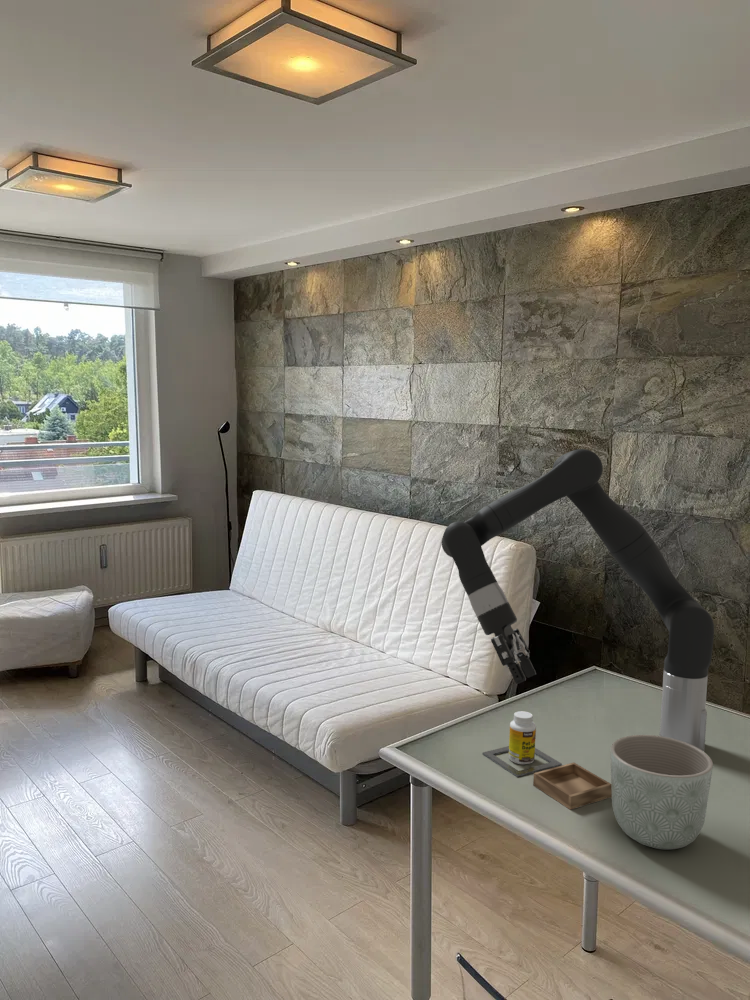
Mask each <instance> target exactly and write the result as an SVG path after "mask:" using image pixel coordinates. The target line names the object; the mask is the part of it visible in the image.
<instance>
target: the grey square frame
mask: <svg viewBox="0 0 750 1000" xmlns="http://www.w3.org/2000/svg"><path fill="white" fill-rule="evenodd" d="M504 753H509V745H508V746H504V747H500V748H495V749H490V750H487V751H483V752H482V755H483V756H484V757H486V758H488V759H489V760H490V761H492V762H493V763H495V764H497V765H498V766H499V767H501V768H502V769H504V770H506V771H507V772H508V773H511V774H512V775H513V776H515V777H516V778H519V777H520V778H521V777H524V776H527V775H530V774H534V773H536V772H540V771H544V770H547V769H551V768H555V767H558V766H562V765H563V764H562V763H561V762H560V761H558V760H557V759H555V758H553V757H551V756H550V755H548V754H546V753H545V752H544V751H541V750H539V748H536V747H535V755H536V756H538V757H539V758H541V759H543V760H544V761H546V763H543V764H540V765H537V766H532V767H531V766H530V767H529V768H524V769H519V770H518V769H517V768H514V767H513V766H512V765H510V764H508V763H507V762H505V761H504V760H502V759H501V758H499V756H496V755H499V754H504Z"/></svg>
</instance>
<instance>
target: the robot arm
mask: <svg viewBox="0 0 750 1000" xmlns="http://www.w3.org/2000/svg"><path fill="white" fill-rule="evenodd" d="M603 466H604V465H603V462H602V459H601V458H600V456H599V455H598V454H597V453H595V452H594V451H593V450H589V449H585V448H579V449H574V450H570V451H568V452H566V453H565V454H561V455H560V456H559V457H558V458H556V460H555V461H554V462H553V465H552V468H551V470H549V471H548V472H546V473H544V474H543V475H541V476H539V477H538V478H536V479H535V480H533V481H531V482H529V483H527V484H525V485H523V486H521V487H519V488H516V489H514V490H512V491H510V492H507V493H506V494H504V495H502V496H501V497H499V498H497V499H495V500H493V501H492V502H490V503H488V504H486V505H485V506H483V507H482V508H481V509H479V510H478V511H477V512H476V513H475V514H474V515H473V516H472V517H469V518H468V519H467V520H465V521H454V522H451V523H450V524H449V525H447V527H446V528H445V530H444V531H443V535H442V538H441V548H442V550H443V552H444V553H445V555H447V556H448V557H450V558H452V559H453V562H454V564H455V567H456V568H457V569H458V570H457V571H458V577H459V581H460V582H461V585H462V587H463V588H464V591H465V593H466V596H467V597H468V600H469V603H470V605H471V607H472V610H473V612H474V614H475V617H476V618H477V620H478V623H479V625H480V626H481V629H482V631H483V633H484V634H485V636H490V635H492V634H494V637H492V638H490V641H491V642H490V643H492V646H493V647H494V650H495V653H496V654H497V657H498V658H499V660H500V663H501V665H502V666H503V667H504V666H505V667H506V668H508V669H509V672H510V673H511V676H512V679H513V680H514V682H515V684H517V685H518V684H519V685H520V684H522V683H524V682H525V681H526V680H527V678H529V679H530V678H531V677H533V676H535V675H537V672H536V669H535V668H534V666H533V663H532V661H531V658H530V654H531V652H530V649H529V647H528V646H527V643H526V642H525V639H524V638H523V635H522V634H521V632H520V629H518V628H515V629H513V627H512V625H513V624H515V623H517V621H518V618H517V616H516V614H515V612H514V610H513V607H512V606H511V604H510V602H509V600H508V598H507V596H506V594H505V592H504V591H503V589H502V587H501V585H499V583H498V581H497V579H496V576H495V574H494V573H493V571H492V569H491V567H490V565H489V564H488V561H487V559H486V557H485V553H484V551H483V548H482V546H484V545H485V544H486V543H488V542H489V541H490V540H492V539H493V538H496V537H498V536H499V535H502V534H503V533H505V532H506V531H507V532H508V530H511V528H513V527H516V526H517V525H518V524H520V523H522V522H523V521H525V520H526V519H528V518H529V517H531V516H533V515H534V514H536V513H537V512H539V511H541V510H543V509H544V508H546V507H548V506H549V505H551V504H552V503H554V502H556V501H559V500H560V499H563V498H564V497H567V498H568V499H569V500H570V501H571V502H572V503H573V504H574V506H575V507H577V509H578V510H579V511H580V513H582V515H583V516H584V517H585V520H587V522H588V523H589V525H590V526H591V528H592V529H593V530H594V531H595V534H597V536H598V537H599V538H600V540H601V541H602V543H603V545H604V546H605V547H606V549H607V550H608V552H609V553H610V554H611V556H612V557H613V558H614V560H615V561H616V562H617V564H618V565H619V566H620V567H621V569H622V570H623V571H624V572H625V573H626V575H628V577H630V579H631V580H632V581H633V582H634V583H635V584H636V585H637V586H638V587H640V589H642V591H643V592H644V594H646V595H647V597H648V598H649V600H650V601H651V603H652V605H653V606H654V608H655V609H656V611H657V612H658V614H659V616H660V618H661V620H662V621H663V623H664V626H665V627H666V629H667V631H668V632H669V633H668V647H667V655H666V656H665V658H664V662H663V674H662V676H663V677H662V694H661V695H662V696H661V697H662V698H661V709H660V726H659V727H660V728H659V736H663V737H668V738H673V739H676V740H680V741H683V742H686V743H688V744H691V745H693V746H695V747H697V748H699V749H700V750H702V751H704V752H705V749H706V748H705V747H706V731H707V717H708V711H707V709H706V706H707V705H706V704H707V689H708V688H707V687H708V675H709V668H710V666H711V663H712V658H713V648H714V640H715V639H714V637H715V635H714V634H715V624H714V620H713V618H712V616H711V614H710V613H709V612H708V611H707V610H706V609H705V607H703V606H702V605H701V603H699V601H697V600H696V599H694V598H693V596H692V595H691V594H690V593H689V592H688V591H687V590H686V589H685V587H684V586H682V585H681V583H680V582H679V581H678V580H677V578H676V577H675V575H674V574H673V572H672V570H671V569H670V567H669V565H668V563H667V561H666V559H665V557H664V555H663V553H662V552H661V550H660V548H659V546H658V545H657V544H656V542H655V540H654V539H653V538H652V537H651V535H650V534H649V533H648V532H647V531H648V530H646V528H645V527H644V526H643V525H642V523H640V521H638V519H636V518H635V517H634V516H633V515H632V514H630V513H629V512H628V511H626V509H624V508H623V507H621V506H620V505H619V504H618V503H616V502H615V501H614V500H613V499H612V498H611V497H610V496H609V494H607V492H606V491H605V490H604V488H603V487H602V485H601V484H600V483H599V481H600V479H601V477H602V475H603V470H604V469H603Z"/></svg>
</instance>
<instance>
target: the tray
mask: <svg viewBox="0 0 750 1000" xmlns="http://www.w3.org/2000/svg"><path fill="white" fill-rule="evenodd" d="M532 779H533V781H532V782H533V783H532V785H533V787H535V788H536V789H538V790H539V791H541V792H542V793H544V794H546V795H547V796H548V797H550V798H551V799H553V800H555V801H556V802H558V803H559V804H561V805H562V806H564V807H566V808H567V809H568V810H574V809H577V808H581V807H585V806H586V805H590V804H594V803H597V802H600V801H604V800H606V799H610V798H612V791H611V782H609V781H607V780H605V779H604V778H602V777H600V776H598V775H597V774H595V773H593V772H591V771H589V770H588V769H586V768H584V767H582V766H581V765H579V764H578V763H576V762H570V763H567V764H562V765H561V766H557V767H554V768H550V769H546V770H543V771H539V772H535V773H533V778H532Z"/></svg>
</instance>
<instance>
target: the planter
mask: <svg viewBox="0 0 750 1000" xmlns="http://www.w3.org/2000/svg"><path fill="white" fill-rule="evenodd" d="M713 769H714V762H713V760H712V758H711V757H710V756H709V755H708V754H707V753H706V752H705V751H704V752H703V751H702V750H700V749H699V748H697V747H695V746H693V745H691V744H688V743H686V742H683V741H680V740H676V739H673V738H668V737H663V736H660V735H655V734H634V735H633V734H632V735H626V736H623V737H619V738H618V739H615V740H614V741H613V742H612V743H611V745H610V781H611V782H610V784H611V791H612V797H611V805H612V810H613V814H614V817H615V820H616V822H617V823H618V825H619V827H620V829H621V830H622V831H623V832H624V833H625V834H626V836H628V837H629V838H631V839H632V840H634V841H635V842H638V843H639V844H641V845H643V846H646V847H649V848H654V849H657V850H676V849H681V848H684V847H687V846H688V845H690V844H691V843H692V842H694V841H695V840H696V839H697V838H698V837H699V835H700V833H701V831H702V829H703V826H704V825H705V824H704V823H705V821H706V820H705V819H706V816H707V814H706V813H707V809H708V808H707V807H708V801H709V795H710V789H711V781H712V775H713Z"/></svg>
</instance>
